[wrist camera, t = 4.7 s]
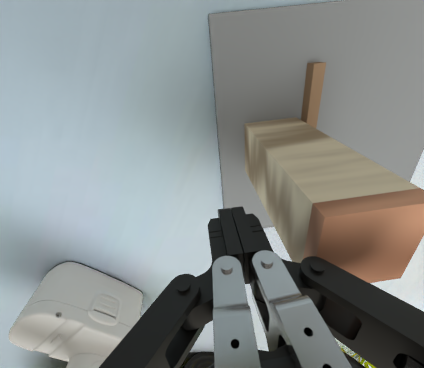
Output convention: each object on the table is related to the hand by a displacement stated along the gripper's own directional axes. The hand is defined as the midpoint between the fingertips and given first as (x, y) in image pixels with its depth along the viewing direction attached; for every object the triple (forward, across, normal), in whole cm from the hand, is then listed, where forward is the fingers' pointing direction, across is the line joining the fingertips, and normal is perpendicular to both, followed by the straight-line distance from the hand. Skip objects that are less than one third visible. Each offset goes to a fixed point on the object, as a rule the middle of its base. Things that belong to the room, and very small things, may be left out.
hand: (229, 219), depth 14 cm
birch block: (+10, -6, 0) cm, 12 cm away
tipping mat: (+11, -12, 0) cm, 16 cm away
